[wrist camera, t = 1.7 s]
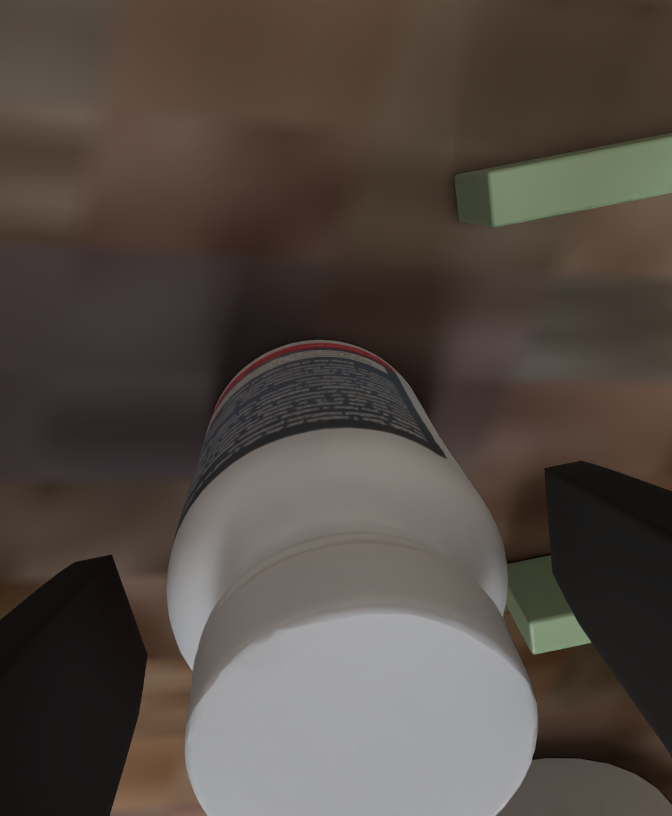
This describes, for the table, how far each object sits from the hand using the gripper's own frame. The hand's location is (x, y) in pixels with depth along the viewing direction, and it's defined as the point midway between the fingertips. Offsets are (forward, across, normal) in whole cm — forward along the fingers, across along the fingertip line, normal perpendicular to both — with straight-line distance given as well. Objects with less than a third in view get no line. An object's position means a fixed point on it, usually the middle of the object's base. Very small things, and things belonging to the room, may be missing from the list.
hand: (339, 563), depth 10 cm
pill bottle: (+6, 0, 0) cm, 6 cm away
